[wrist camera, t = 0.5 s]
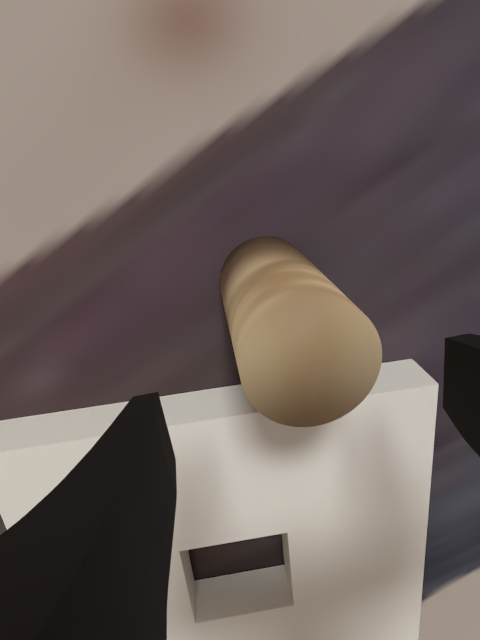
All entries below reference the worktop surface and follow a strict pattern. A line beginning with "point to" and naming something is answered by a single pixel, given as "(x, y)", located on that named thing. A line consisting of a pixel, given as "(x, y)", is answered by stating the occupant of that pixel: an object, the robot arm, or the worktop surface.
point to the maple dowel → (296, 336)
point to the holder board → (273, 506)
